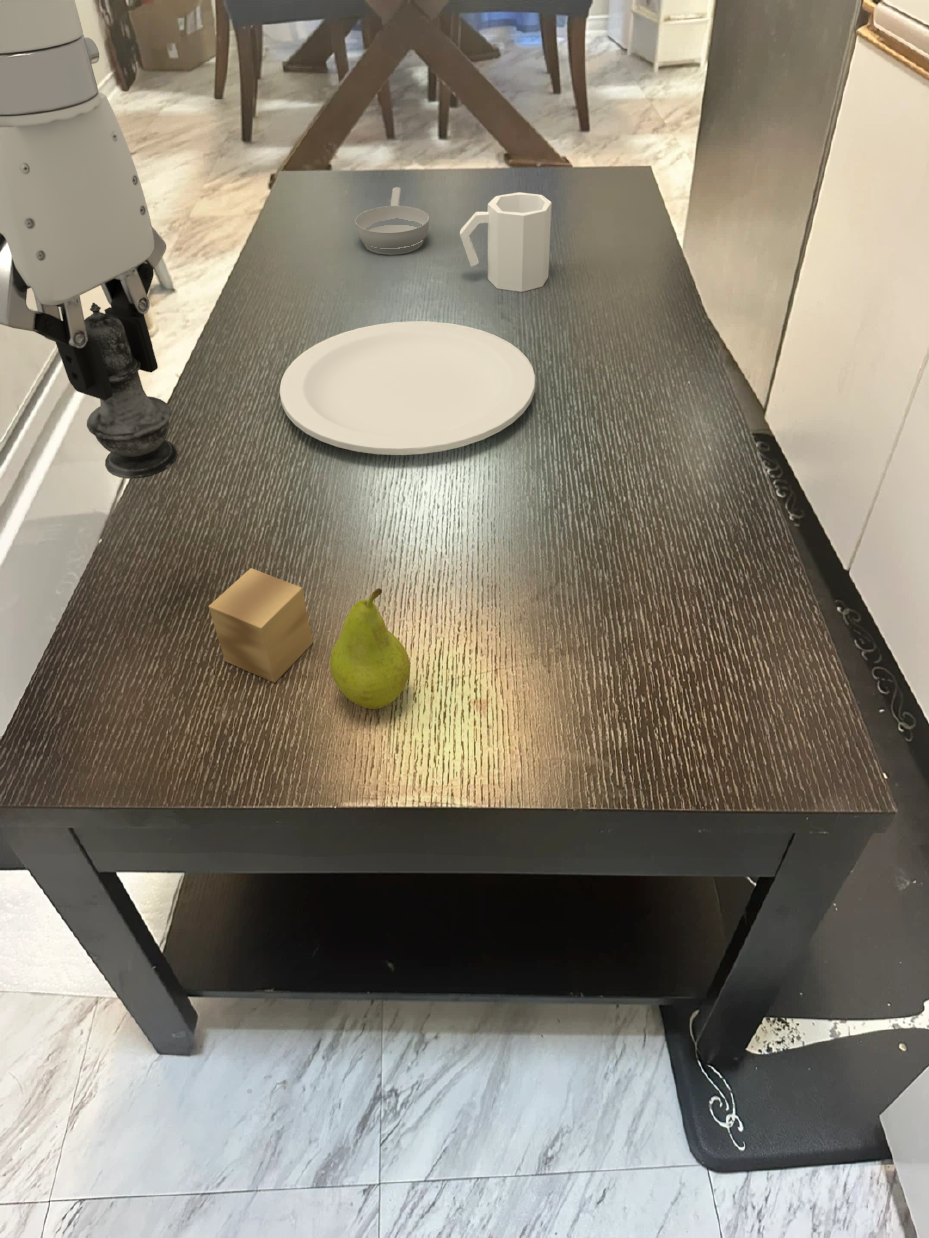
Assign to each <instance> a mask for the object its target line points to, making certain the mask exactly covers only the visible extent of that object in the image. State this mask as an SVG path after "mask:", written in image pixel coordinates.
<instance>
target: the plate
mask: <svg viewBox="0 0 929 1238" xmlns="http://www.w3.org/2000/svg"><path fill="white" fill-rule="evenodd" d="M535 386H536V375H535V371H534V367H533V366H532V363H531V362H530V360H529V359H528V357H527V356H526V355H525V354H524V353H523V352H522V351H521V350H520V349H519V348H518V347H516V346H515V345H513V344H512V343H510V342H509V341H507V340H505V339H503V338H501V337H499V336H497V335H495V334H492V333H490V332H487V331H485V330H482V329H478V328H475V327H471V326H467V325H461V324H454V323H451V322H439V321H426V320H425V321H420V320H418V321H417V320H411V321H394V322H385V323H378V324H373V325H367V326H362V327H358V328H354V329H351V330H348V331H344V332H341V333H339V334H335V335H333V336H330V337H328V338H326V339H324V340H322V341H320V342H318V343H316V344H314V345H312V346H311V347H310V348H308V349H306V350H305V351H303V352H302V353H301V354H300V355H298V356H297V357H296V358H295V359H294V360H292V362H291V363H290V364H289V366H288V367H287V368H286V370H285V371H284V373H283V376H282V377H281V380H280V386H279V396H280V401H281V406H282V407H281V408H282V409H283V411H284V413H285V415H286V416H287V418H288V419H289V420H290V421H291V422H292V423H293V425H294V426H295V427H297V428H298V429H300V431H302V432H303V433H305V434H306V435H308V436H310V437H312V438H314V439H315V440H318V441H320V442H322V443H325V444H328V445H331V446H334V447H335V448H340V449H345V450H349V451H353V452H358V453H365V454H372V455H383V456H386V455H387V456H409V455H410V456H411V455H424V454H425V455H426V454H432V453H438V452H439V453H440V452H446V451H449V450H454V449H458V448H462V447H465V446H468V445H469V446H470V445H471V444H474V443H478V442H480V441H483V440H485V439H487V438H489V437H491V436H493V435H496V434H497V433H499V432H501V431H503V430H504V429H507V427H509V426H511V425H512V424H513V423H515V422H516V421H517V420H518V419H519V418H520V417H521V416H522V415H523V414H525V412H526V410H527V408H528V407H529V406H530V405H531V402H532V400H533V399H534V398H533V397H534V395H535V389H536V387H535Z"/></svg>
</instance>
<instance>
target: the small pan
mask: <svg viewBox="0 0 929 1238" xmlns="http://www.w3.org/2000/svg"><path fill="white" fill-rule="evenodd" d="M391 191H392V192H391V198H390V204H389V205H386V206H379V207H373V208H371V209H367V210H364V211H362V212H361V213H359V214H358V215H357V216H356V217H355V220H354V223H355V228H356V229H355V230H356V233H357V235H358V237H359V239H360V241H361V242H362V243H363V244H364V243H365V244H364V246H365V248H366V249H367V250H368V251H370V252H372V253H375V254H379V255H380V254H381V255H387V256H389V255H390V256H391V255H403V254H407V253H412V252H414V251H416V250H418V249H420V248H421V247H422V245H423V243H424V242H425V239H426V237H427V235H428V233H429V227H430V216H429V214H428V213H427V212H426V211H424V210H423V209H420V208H418V207H417V208H416V207H413V206H405V205H400V203H401V201H400V200H401V192H402V188H401V187H399V186H394V187H393V188H392V190H391ZM395 218H399V219H404V220H408V221H415V222H418V223H420V224H422V226H420V227H418V228H417V227H414V226H409V225H384V226H379V227H375V228H372V229H370V230H366V228H367V227H369V226H371V225H372V224H374V223H377V222H379V221H385V220H390V219H395ZM424 238H425V239H424ZM423 239H424V240H423ZM421 240H423V241H422V242H420V241H421ZM418 242H420V243H418ZM416 243H418V244H416ZM413 244H416V245H414V246H411V245H413ZM371 246H373V247H371ZM404 246H410V247H406V248H400V249H380V248H398V247H404ZM374 247H377V248H374Z"/></svg>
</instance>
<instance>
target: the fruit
mask: <svg viewBox="0 0 929 1238" xmlns="http://www.w3.org/2000/svg"><path fill="white" fill-rule="evenodd" d="M382 593H383V590H382V588H381V587H379V588H376V589H375V590H374V591H372V593H371V595H370V597H369V598H368V599H361V600H359V601H357V602H356V603H354V605H353V606H352V607H351V608H350V610H349V612H348V614H347V616H346V618H345V620H344V622H343V625H342V627H341V632H340V635H339V638H338V639H337V640H336V642H335V643H334V645H333V647H332V650H331V652H330V657H329V666H330V673H331V676H332V679H333V682H334V683H335V684H336V686H337V687H338V689H339V691H340V692H341V693H342V694H343V695H344V697H346V699H347V700H349V701H350V702H352V703H353V704H355V705H357V706H360V707H362V708H365V709H369V710H377V709H381V708H384V707H386V706H388V705H390V704H392V703H393V702H395V700H396V699H397V698H398V697H399V696H400V695H401V694H402V693H403V691H404V689H405V687H406V685H407V683H408V681H409V678H410V673H411V664H410V657H409V654H408V652H407V650H406V648H405V647H404V645H403V644H402V642H401V641H400V640H399V639H398V637H397V636H395V635H394V633H392V632H391V631H390V630H388V627H387V625H386V622H385V620H384V618H383V616H382V615H381V613H380V611H379V610H378V608H377V604H376V603H374V600H376V598H378V597H379V596H380V595H382Z"/></svg>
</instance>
